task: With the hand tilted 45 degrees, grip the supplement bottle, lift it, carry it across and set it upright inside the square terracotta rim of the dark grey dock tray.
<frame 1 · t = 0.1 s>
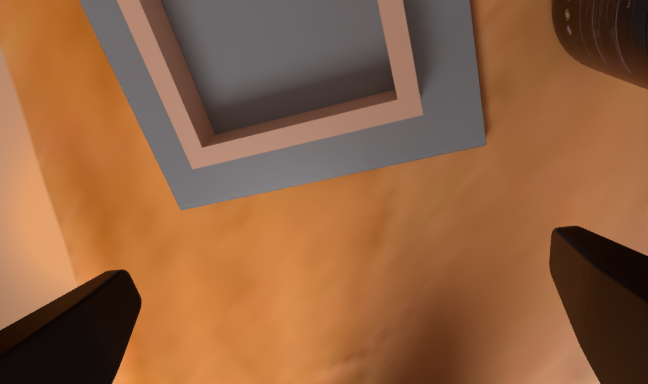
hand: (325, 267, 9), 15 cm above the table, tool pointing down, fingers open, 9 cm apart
dock tray: (272, 13, 20), on the table
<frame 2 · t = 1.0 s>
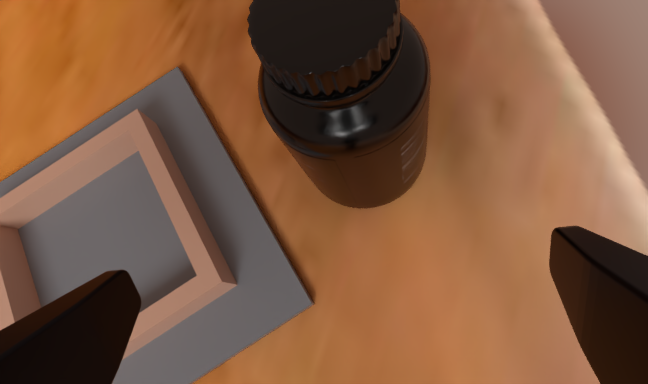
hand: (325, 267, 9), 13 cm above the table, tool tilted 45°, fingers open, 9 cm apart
dock tray: (115, 253, 25), on the table
supplement bottle: (364, 155, 24), on the table
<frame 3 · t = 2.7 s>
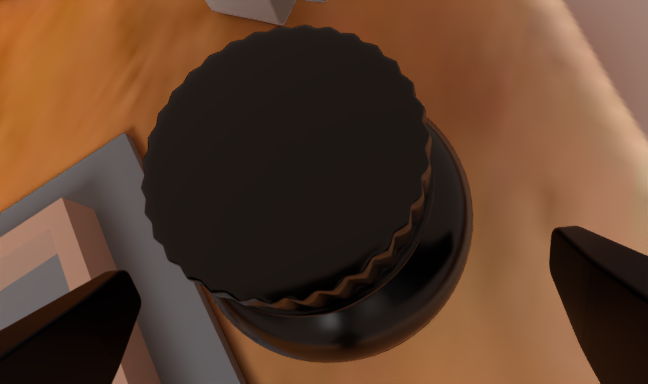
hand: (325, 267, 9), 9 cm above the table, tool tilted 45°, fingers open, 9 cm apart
usb wall charger: (283, 2, 23), on the table
supplement bottle: (364, 262, 18), on the table
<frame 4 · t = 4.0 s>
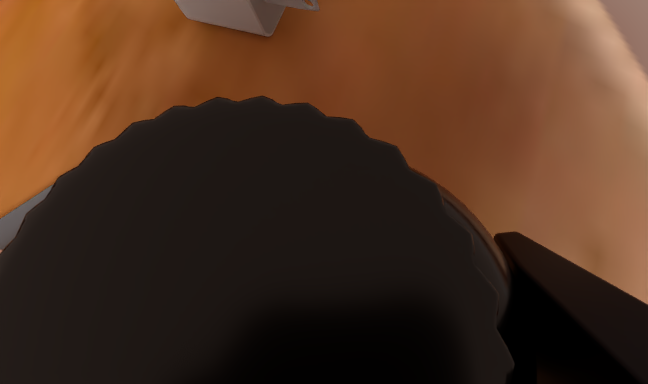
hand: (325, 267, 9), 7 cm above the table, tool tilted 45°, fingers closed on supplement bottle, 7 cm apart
usb wall charger: (271, 8, 20), on the table
supplement bottle: (366, 331, 15), on the table, touching gripper
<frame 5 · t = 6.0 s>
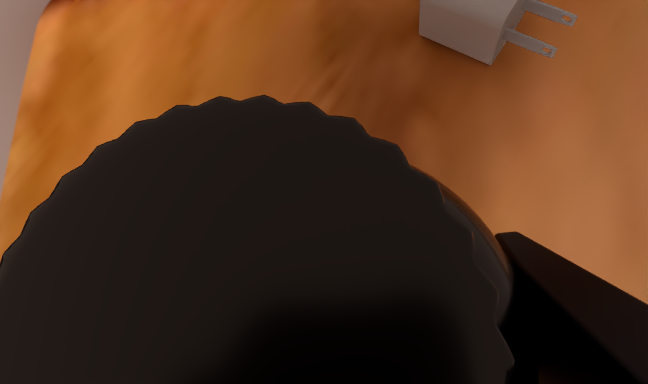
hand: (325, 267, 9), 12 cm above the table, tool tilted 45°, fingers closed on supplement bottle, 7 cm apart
usb wall charger: (490, 39, 23), on the table
supplement bottle: (368, 330, 15), point 5 cm above the table, touching gripper
when the fingers open (9 cm above the table, at t = 8.3 s): supplement bottle drops 2 cm, resting on dock tray.
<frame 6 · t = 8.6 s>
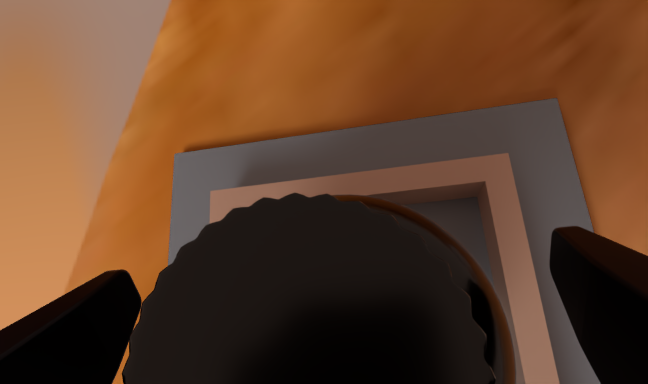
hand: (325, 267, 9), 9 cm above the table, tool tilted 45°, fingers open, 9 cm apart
dock tray: (370, 330, 17), on the table
supplement bottle: (372, 334, 16), resting on dock tray
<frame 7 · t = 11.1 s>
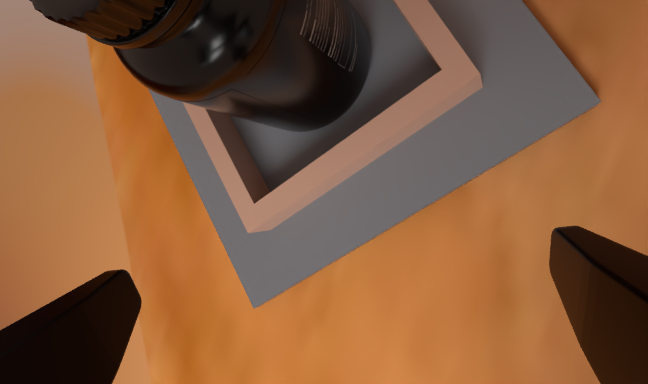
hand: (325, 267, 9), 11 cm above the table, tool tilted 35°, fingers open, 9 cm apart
dock tray: (310, 68, 21), on the table
supplement bottle: (309, 67, 20), resting on dock tray
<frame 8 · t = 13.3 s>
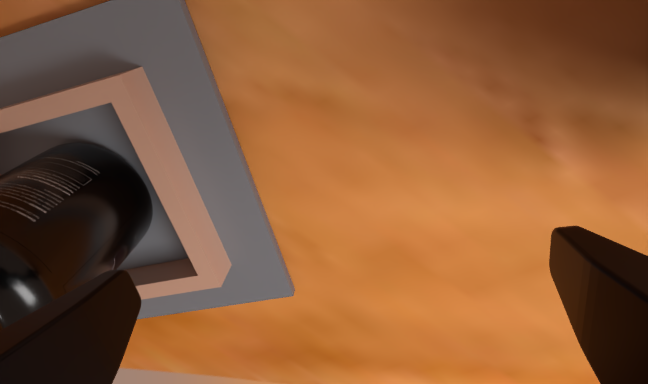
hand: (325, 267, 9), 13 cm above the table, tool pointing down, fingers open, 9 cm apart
dock tray: (104, 193, 24), on the table
supplement bottle: (101, 194, 23), resting on dock tray
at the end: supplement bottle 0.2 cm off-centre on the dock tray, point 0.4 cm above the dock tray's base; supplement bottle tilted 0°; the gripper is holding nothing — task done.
